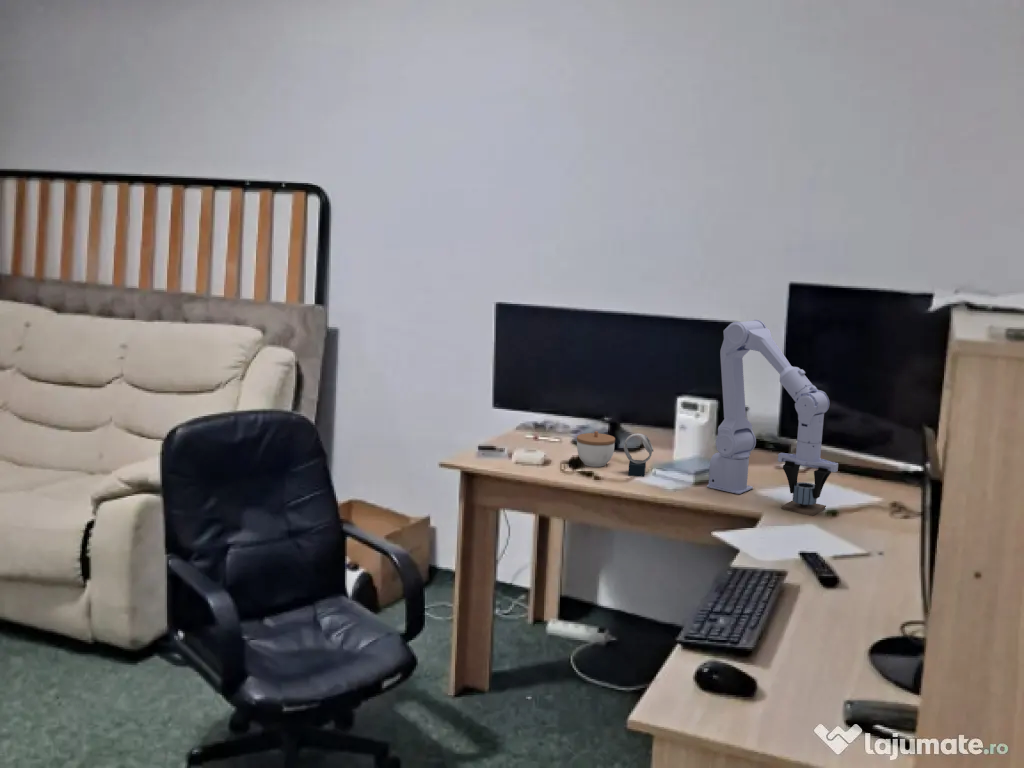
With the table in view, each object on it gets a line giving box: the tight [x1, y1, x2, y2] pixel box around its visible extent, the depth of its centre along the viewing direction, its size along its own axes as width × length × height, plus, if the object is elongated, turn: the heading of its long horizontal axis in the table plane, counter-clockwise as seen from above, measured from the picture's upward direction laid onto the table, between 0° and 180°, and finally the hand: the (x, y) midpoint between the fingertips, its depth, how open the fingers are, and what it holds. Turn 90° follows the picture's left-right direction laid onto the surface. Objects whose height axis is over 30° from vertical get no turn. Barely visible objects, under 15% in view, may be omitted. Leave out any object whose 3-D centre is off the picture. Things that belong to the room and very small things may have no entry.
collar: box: [792, 481, 818, 505], centre depth 251 cm, size 6×6×4 cm
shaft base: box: [780, 499, 827, 517], centre depth 251 cm, size 8×8×5 cm
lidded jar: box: [576, 430, 616, 468], centre depth 287 cm, size 11×11×9 cm
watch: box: [623, 432, 654, 478], centre depth 278 cm, size 6×8×11 cm
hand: (804, 494), depth 251 cm, fingers closed on collar, 5 cm apart
